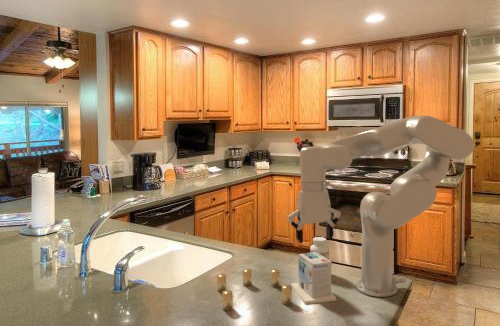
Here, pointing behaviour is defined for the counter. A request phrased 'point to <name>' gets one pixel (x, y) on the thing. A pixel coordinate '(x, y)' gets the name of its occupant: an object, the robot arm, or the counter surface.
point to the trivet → (308, 298)
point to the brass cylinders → (247, 281)
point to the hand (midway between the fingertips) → (314, 240)
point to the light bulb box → (314, 274)
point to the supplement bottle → (320, 247)
